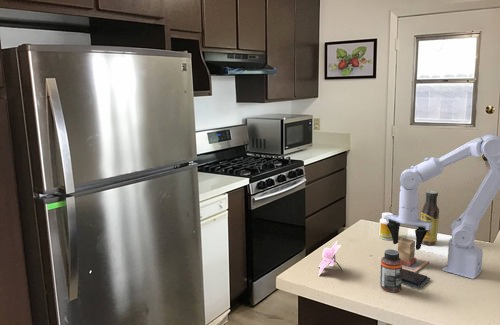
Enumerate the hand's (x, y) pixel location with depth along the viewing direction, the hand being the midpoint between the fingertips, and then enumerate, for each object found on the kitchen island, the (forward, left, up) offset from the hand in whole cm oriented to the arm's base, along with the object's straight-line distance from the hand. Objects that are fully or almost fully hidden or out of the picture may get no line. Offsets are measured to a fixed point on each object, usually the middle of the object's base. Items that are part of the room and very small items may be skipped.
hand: (406, 246), depth 143 cm
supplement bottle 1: (+16, -18, -6) cm, 25 cm away
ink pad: (-6, +11, -6) cm, 14 cm away
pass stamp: (0, 0, -6) cm, 6 cm away
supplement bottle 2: (-4, +20, -6) cm, 21 cm away
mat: (0, 0, -6) cm, 6 cm away
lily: (+16, +22, -6) cm, 27 cm away
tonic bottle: (+2, -23, -6) cm, 24 cm away
